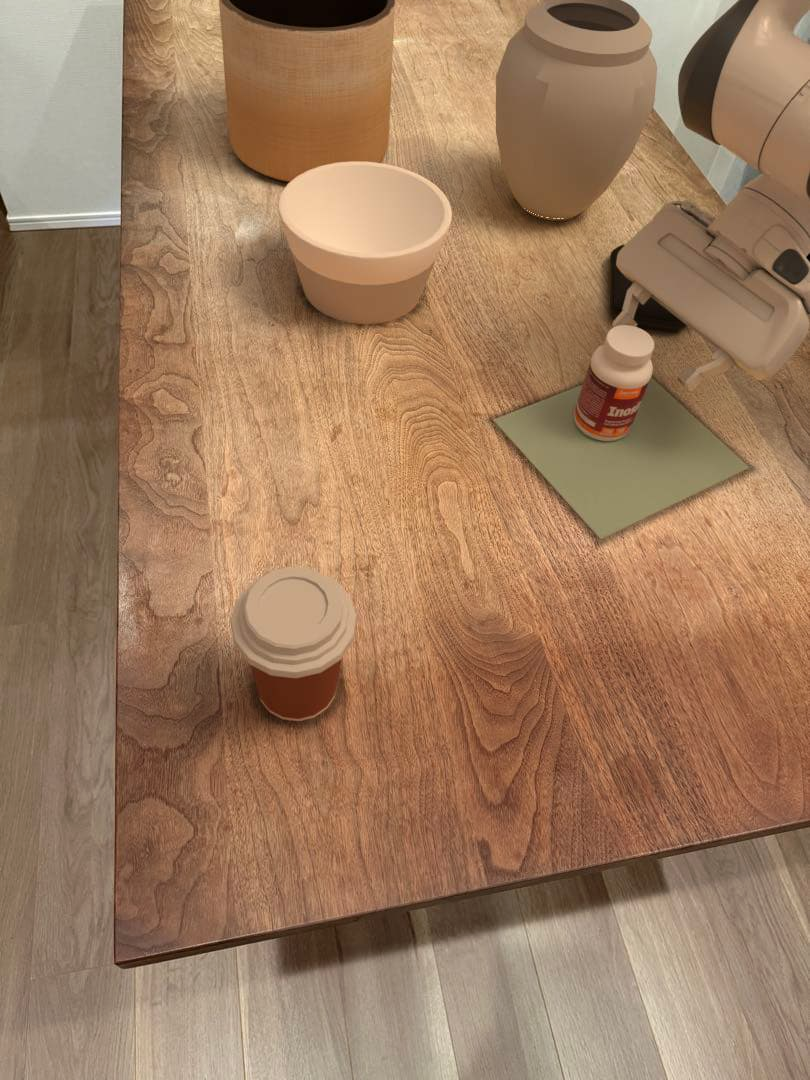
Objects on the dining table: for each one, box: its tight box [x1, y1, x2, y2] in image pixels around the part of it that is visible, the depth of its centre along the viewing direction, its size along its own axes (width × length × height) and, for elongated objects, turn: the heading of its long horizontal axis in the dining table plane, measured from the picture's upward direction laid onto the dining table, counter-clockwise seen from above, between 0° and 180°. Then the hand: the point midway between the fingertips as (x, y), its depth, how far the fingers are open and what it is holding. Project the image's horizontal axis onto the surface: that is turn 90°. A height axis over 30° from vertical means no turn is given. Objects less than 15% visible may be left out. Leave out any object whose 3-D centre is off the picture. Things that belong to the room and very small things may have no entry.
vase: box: [495, 0, 658, 221], centre depth 109 cm, size 20×20×24 cm
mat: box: [492, 376, 750, 540], centre depth 91 cm, size 20×18×1 cm
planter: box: [218, 0, 396, 184], centre depth 116 cm, size 22×22×20 cm
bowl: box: [277, 161, 453, 325], centre depth 100 cm, size 19×19×11 cm
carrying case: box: [608, 244, 688, 333], centre depth 106 cm, size 11×3×15 cm
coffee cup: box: [229, 565, 358, 722], centre depth 67 cm, size 9×9×12 cm
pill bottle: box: [574, 325, 655, 441], centre depth 88 cm, size 6×6×11 cm
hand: (649, 357), depth 87 cm, fingers open, 8 cm apart
